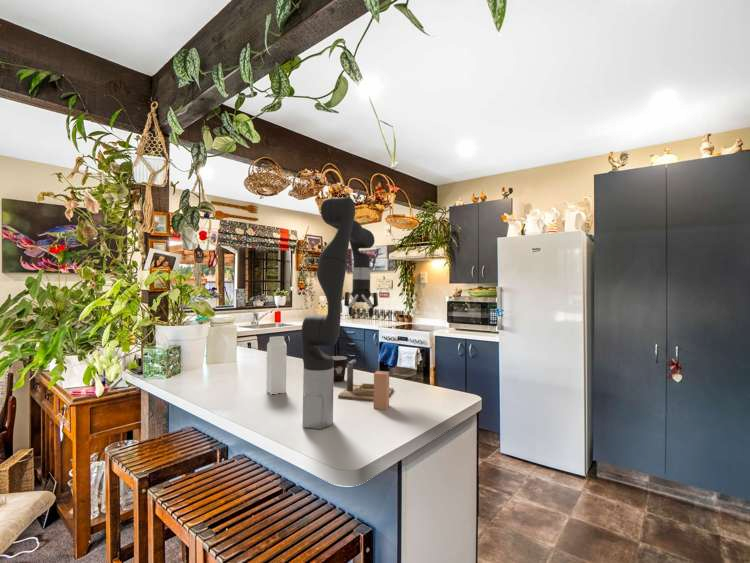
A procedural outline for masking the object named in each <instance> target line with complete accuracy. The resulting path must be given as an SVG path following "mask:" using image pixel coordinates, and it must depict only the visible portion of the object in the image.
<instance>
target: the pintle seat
mask: <svg viewBox="0 0 750 563" xmlns="http://www.w3.org/2000/svg"><path fill="white" fill-rule="evenodd" d="M356 363H357V359H352V360H350V361H348V363H347V364H346V388H345V389H344V390H343V391H342V392H340V393H339V394H338V395H337V398H338V399H345V400H346V399H347V400H355V401H357V400H358V401H368V402H374V383H369V382H368V383H367V382H361V383H360V384H354V364H356ZM393 392H394V387H389V397H390V396H391V394H392V393H393Z"/></svg>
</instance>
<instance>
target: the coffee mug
mask: <svg viewBox="0 0 750 563" xmlns="http://www.w3.org/2000/svg"><path fill="white" fill-rule="evenodd" d="M331 357H332V358H333V360H334V381H333V383H341V382H342V383H343V382H344V381H345V376H346V370H347V359H348V357H346V356H343V355H341V356H340V355H336V356H335V355H334V356H331Z"/></svg>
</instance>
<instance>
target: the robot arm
mask: <svg viewBox="0 0 750 563" xmlns="http://www.w3.org/2000/svg"><path fill="white" fill-rule="evenodd" d="M320 214H321V219H322V220H323V221H324V223H325V224H327V225H328V226H331V227H332V228H334V229H336V230H337V232H336V233H335V235H334V236H333V237H332V239H331V240H330V241H329V242H328V243H327V245H325V246H324V248H323V250H322V251H321V253H320V254H319V256H318V263H317V270H316V277H317V281H318V283H319V286H320V287H321V289H322V291H323V293H324V295H325V296H324V297H325V298H326V301H327V302H326V303H327V314H326V315H323V314H322V315H320V314H319V315H318V314H317V315H315V314H310V315H306V316H305V318H304V319H303V321H302V325H301V347H302V349H301V350H302V351H301V353H302V355H301V356H302V363H303V381H302V382H303V383H302V386H303V387H302V389H303V392H302V394H303V396H302V428H307V429H317V430H322V429H323V428H324V429H325V428H328V427H330V426H332V425H333V424H334V382H333V381H334V360H333V358H332V356H330V355H328V354H326V353H324V351H322V350H321V349H320V348H319V346H325V347H333V346H335V345H337V342H338V340H339V337H340V329H341V328H340V327H341V318H342V317H341V315H342V314H341V312H342V300H343V298H342V297H343V291H344V286H345V285H344V284H345V278H346V272H347V265H348V263H347V262H348V256H349V255H348V254H349V246H350V248H351V252H352V257H353V258H352V259H353V260H352V261H353V269H352V291H351V292H349V291H346V292H345V293H344V306H345V307H348V315H349V317H354V316H353V315H354V308H353V307H354V305H355V304H357V303H362V304H363V303H366V305H367V306H368V307H369V309H368V315H369V318H372V317H373V316H374V308H377V307H378V306H379V299H378V298H379V297H378V296H379V295H378V292H371V269H370V268H371V256H370V255H369V254H367V253H362V252H360V249H370V248H372V247H373V246H374V245H375V236H374V233H373V232H372V231H371V230H369V229H367V228H365V227H363V225H361V224H360V222H358V221H357V220H355V216H356V205H355V201H354V199H353V198H351V197H349V196H348V197H345V196H344V197H329V198H325V199H323V201H322V202H321V205H320ZM351 297H352V300H351V301H350V298H351ZM371 297H372V298H373V302H372V301H371V299H370V298H371Z"/></svg>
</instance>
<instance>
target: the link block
mask: <svg viewBox="0 0 750 563" xmlns="http://www.w3.org/2000/svg"><path fill="white" fill-rule="evenodd" d="M373 384H374V401H373V409H378V410H379V409H380V410H387V409H388V407H389V406H390V396H389V388H390V371H387V370H386V371H385V370H376V371H375V372H374V373H373Z"/></svg>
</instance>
